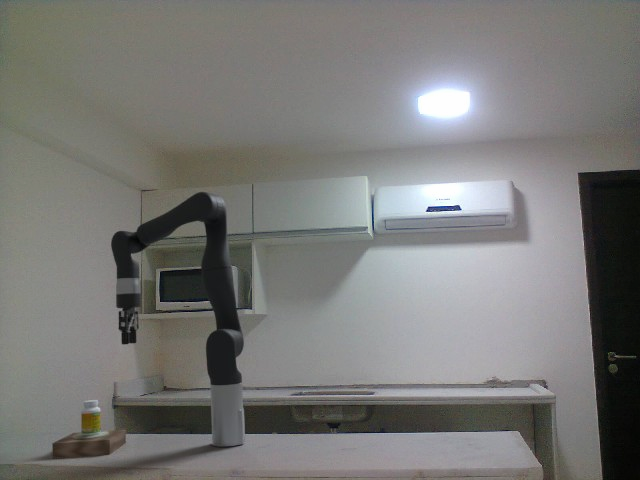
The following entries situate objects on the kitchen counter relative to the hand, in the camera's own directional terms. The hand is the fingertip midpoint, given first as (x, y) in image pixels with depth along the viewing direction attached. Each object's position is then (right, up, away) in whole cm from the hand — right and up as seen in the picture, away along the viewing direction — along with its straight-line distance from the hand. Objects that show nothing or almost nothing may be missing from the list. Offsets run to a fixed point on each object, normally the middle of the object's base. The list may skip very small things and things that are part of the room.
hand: (129, 343), depth 194 cm
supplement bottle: (-7, -25, -13) cm, 29 cm away
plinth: (-7, -29, -14) cm, 33 cm away
